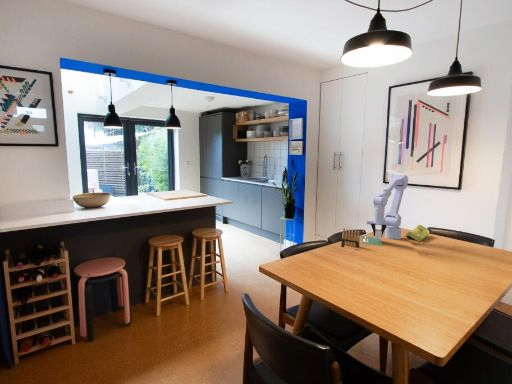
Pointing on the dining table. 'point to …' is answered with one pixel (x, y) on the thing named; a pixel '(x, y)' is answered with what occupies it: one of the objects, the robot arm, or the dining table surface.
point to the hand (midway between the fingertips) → (377, 236)
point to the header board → (371, 241)
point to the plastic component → (418, 233)
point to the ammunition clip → (350, 238)
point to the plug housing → (378, 233)
